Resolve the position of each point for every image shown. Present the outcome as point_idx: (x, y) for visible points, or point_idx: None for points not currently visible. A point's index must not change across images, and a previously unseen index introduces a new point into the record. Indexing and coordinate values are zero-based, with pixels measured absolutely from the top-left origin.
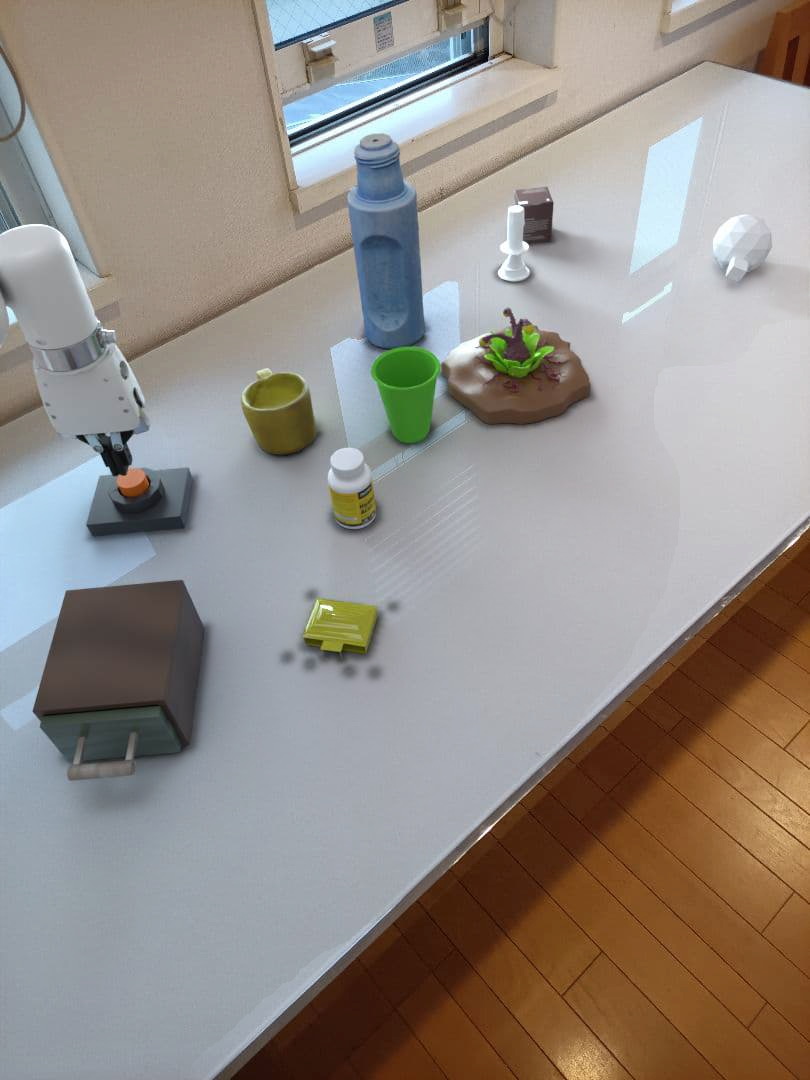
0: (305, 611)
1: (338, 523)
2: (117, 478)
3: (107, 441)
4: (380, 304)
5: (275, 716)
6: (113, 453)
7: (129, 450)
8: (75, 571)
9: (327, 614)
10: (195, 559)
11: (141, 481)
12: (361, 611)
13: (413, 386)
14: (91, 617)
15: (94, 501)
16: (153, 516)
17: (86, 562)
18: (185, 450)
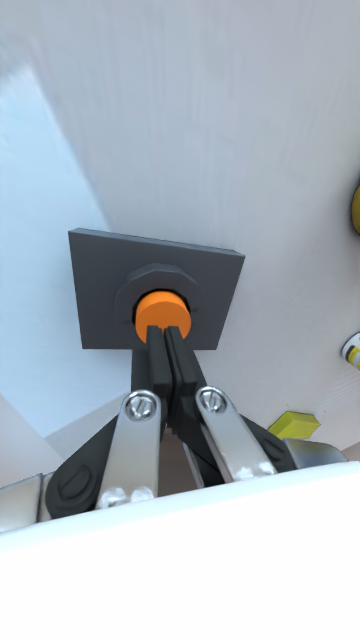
0: (277, 412)
1: (342, 354)
2: (136, 323)
3: (164, 430)
4: None
5: None
6: (176, 433)
7: (197, 362)
8: (82, 377)
9: (296, 437)
10: (213, 373)
11: (184, 337)
12: (312, 430)
13: None
14: None
15: (81, 305)
16: None
17: (93, 368)
18: (235, 153)
